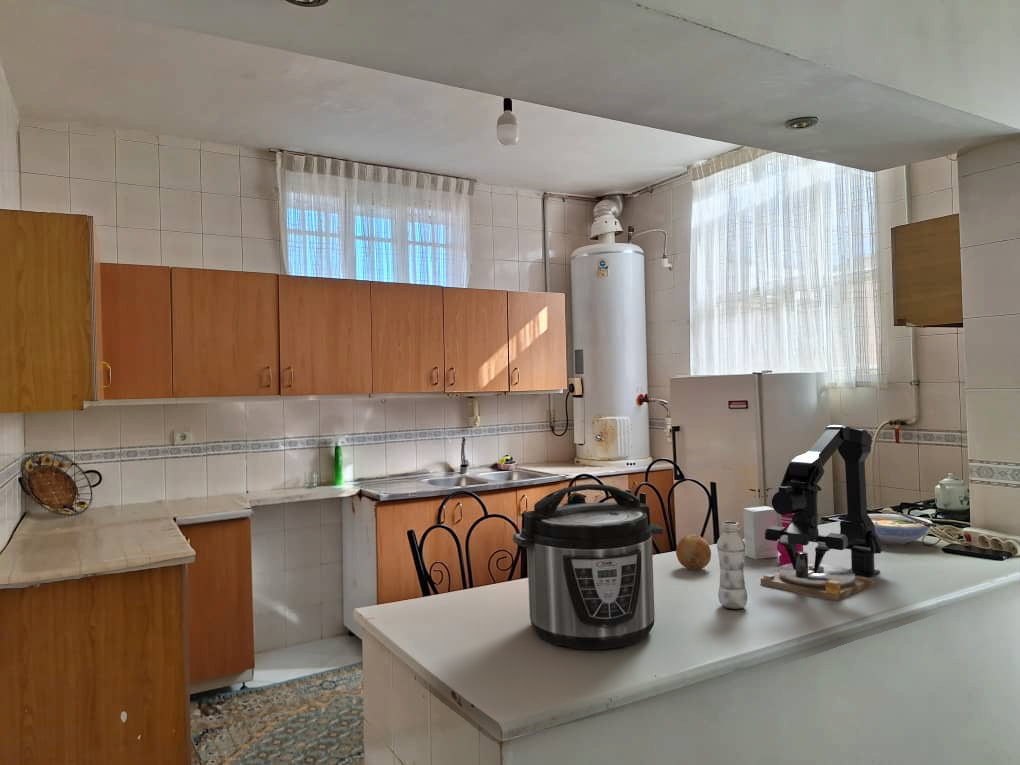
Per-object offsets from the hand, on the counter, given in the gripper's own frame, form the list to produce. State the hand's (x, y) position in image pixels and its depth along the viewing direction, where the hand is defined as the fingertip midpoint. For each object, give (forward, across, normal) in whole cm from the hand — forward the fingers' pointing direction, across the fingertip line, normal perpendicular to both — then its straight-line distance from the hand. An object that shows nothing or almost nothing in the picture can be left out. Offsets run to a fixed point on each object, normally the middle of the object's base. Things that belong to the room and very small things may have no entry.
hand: (805, 571), depth 174 cm
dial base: (+5, +1, +7) cm, 9 cm away
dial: (+3, +1, +7) cm, 8 cm away
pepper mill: (+6, -11, +26) cm, 29 cm away
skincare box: (+6, -20, +29) cm, 36 cm away
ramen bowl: (+6, +9, +71) cm, 72 cm away
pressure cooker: (+5, -29, -56) cm, 63 cm away
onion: (+6, -32, +4) cm, 32 cm away
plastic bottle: (+5, -10, -23) cm, 26 cm away
